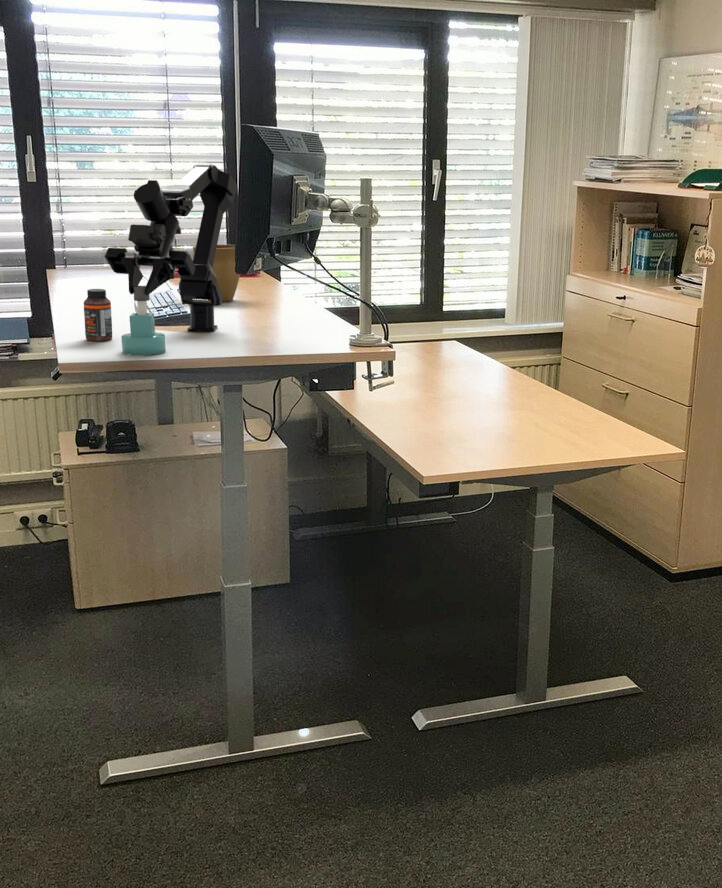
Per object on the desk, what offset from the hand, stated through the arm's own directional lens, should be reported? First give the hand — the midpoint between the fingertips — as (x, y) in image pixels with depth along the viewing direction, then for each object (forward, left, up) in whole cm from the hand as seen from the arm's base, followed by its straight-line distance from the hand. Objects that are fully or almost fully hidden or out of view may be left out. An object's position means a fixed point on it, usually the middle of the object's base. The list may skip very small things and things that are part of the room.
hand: (138, 293), depth 192 cm
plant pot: (-82, +5, -13) cm, 84 cm away
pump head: (-1, 0, -7) cm, 7 cm away
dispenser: (-1, 0, -13) cm, 13 cm away
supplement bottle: (-14, -13, -13) cm, 23 cm away
